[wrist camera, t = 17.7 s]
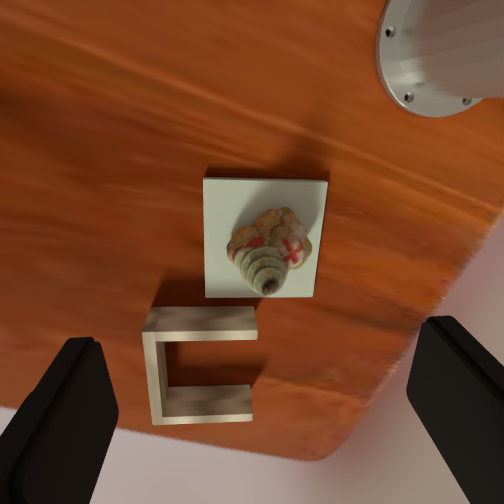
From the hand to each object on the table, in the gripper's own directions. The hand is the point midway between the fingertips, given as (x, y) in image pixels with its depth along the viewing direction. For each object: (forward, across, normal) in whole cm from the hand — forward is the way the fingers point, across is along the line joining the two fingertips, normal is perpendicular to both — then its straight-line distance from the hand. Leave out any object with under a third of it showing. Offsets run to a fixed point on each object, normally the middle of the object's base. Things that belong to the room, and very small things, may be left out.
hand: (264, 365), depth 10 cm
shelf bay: (+25, +5, +21) cm, 33 cm away
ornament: (+24, -3, +6) cm, 25 cm away
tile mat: (+25, -2, +7) cm, 26 cm away
